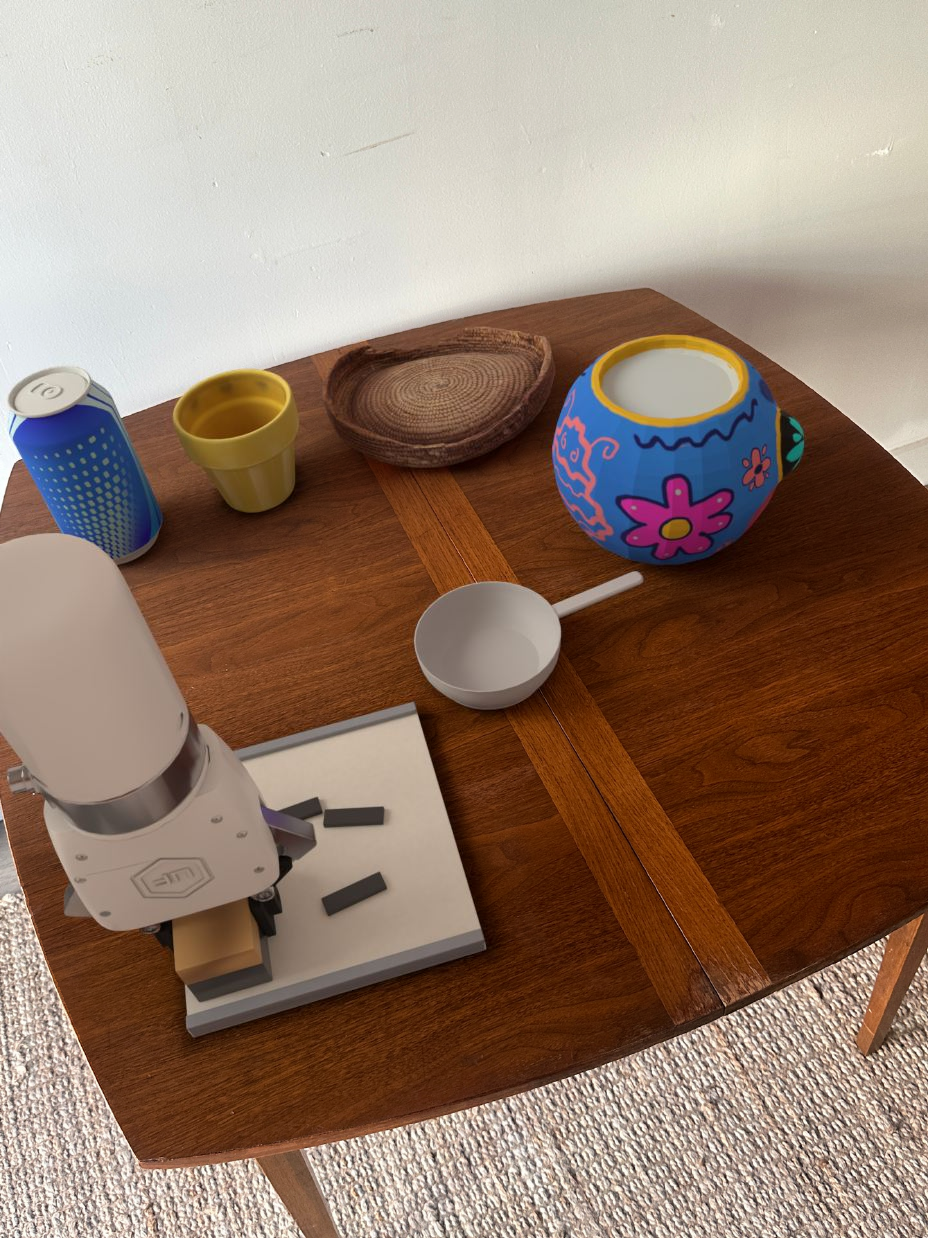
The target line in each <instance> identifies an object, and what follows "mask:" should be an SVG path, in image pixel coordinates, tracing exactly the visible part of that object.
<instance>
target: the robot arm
mask: <svg viewBox="0 0 928 1238" xmlns="http://www.w3.org/2000/svg"><path fill="white" fill-rule="evenodd" d="M190 709H191V708H190V707H189V705H188V704H187V701H186V700H185V698H184V697H183V694H182V692H181V690H180V688H179V685H178V684H177V682H176V680H175V678H174V676H173V674H172V671H171V670H170V668H169V665H168V663H167V661H166V659H165V657H164V655H163V653H162V651H161V648H160V647H159V645H158V643H157V641H156V640H155V637H154V635H153V633H152V631H151V629H150V627H149V625H148V623H147V621H146V619H145V617H144V615H143V613H142V611H141V609H140V607H139V605H138V603H137V601H136V598H135V597H134V595H133V593H132V591H131V589H130V587H129V585H128V583H127V581H126V579H125V577H124V575H123V574H122V572H121V570H120V568H119V567H118V565H116V564H115V562H114V561H113V560H112V559H111V557H110V556H109V555H108V554H107V553H105V552H104V551H103V550H102V549H101V548H99V547H98V546H96V545H95V544H93V543H91V542H89V541H87V540H85V539H82V538H79V537H76V536H73V535H69V534H62V532H45V533H38V534H37V533H36V534H30V535H25V536H20V537H17V538H14V539H10V540H8V541H6V542H2V543H0V734H1V735H2V737H3V738H4V739H5V741H6V742H7V743H8V745H9V746H10V747H11V749H12V750H13V751H14V753H15V754H16V755H17V757H18V758H19V759H20V761H21V762H22V763H21V764H18V765H15V766H11V767H8V768H7V769H6V780H7V785H8V787H9V789H10V792H11V793H12V794H13V795H19V794H23V793H27V792H28V793H31V794H36V795H38V794H39V795H41V796H42V797H43V798H44V804H43V818H44V822H45V825H46V829H47V832H48V835H49V838H50V840H51V843H52V845H53V848H54V851H55V853H56V855H57V857H58V858H59V861H60V864H61V865H62V868H63V869H64V872H65V874H66V876H67V878H68V880H69V882H68V885H67V886H66V889H65V891H64V892H63V914H64V915H65V916H66V917H72V918H93V919H94V920H95V921H96V922H97V923H98V924H99V925H100V926H101V927H103V928H105V929H106V930H110V931H113V932H114V931H115V932H125V931H132V930H133V931H134V930H136V929H138V931H139V933H140V934H141V935H146V936H147V935H153V936H154V938H155V939H156V940H157V941H158V943H159V944H160V945H161V947H162V948H167V947H168V948H169V950H170V952H172V954H173V955H174V941H173V927H172V919H175V918H178V917H182V916H185V915H189V914H192V913H196V912H199V911H203V910H206V909H210V908H213V907H216V906H220V905H223V904H226V903H230V902H233V901H236V900H240V899H243V898H246V897H248V902H249V908H250V911H251V913H252V915H253V917H254V918H255V920H256V922H257V924H258V926H259V927H260V929H261V931H262V933H263V934H264V936H267V937H271V936H275V935H276V927H275V920H274V915H276V914H280V913H282V904H281V898H280V894H279V891H278V889H277V886H276V885H277V884H278V883H279V881H280V880H281V879H282V878H283V877H284V876H285V875H286V874H287V873H288V872H289V871H290V870H291V869H292V867H293V864H292V863H293V862H294V861H295V860H299V859H301V858H302V857H303V856H304V855H306V854H307V853H308V852H309V851H311V850H312V849H313V848H314V847H315V846H316V845H317V840H316V835H315V829H314V825H313V824H312V823H310V822H307V821H304V820H301V819H298V818H295V817H292V816H289V815H287V814H284V813H281V812H278V811H275V810H272V809H269V808H268V806H267V804H266V802H265V800H264V798H263V796H262V794H261V792H260V790H259V789H258V787H257V785H256V784H255V782H254V780H253V779H252V777H251V776H250V774H249V773H248V771H247V770H246V768H245V767H244V765H243V764H242V763H241V761H240V760H239V759H238V757H237V756H236V755H235V753H234V752H233V751H234V750H232V749H231V747H230V746H229V745H228V744H227V743H226V742H225V741H224V740H223V739H222V738H221V737H220V735H219V734H217V733H216V732H215V731H214V730H213V729H212V728H210V727H209V726H208V724H205V723H204V724H203V723H197V722H196V720H195V718H194V716H193V714H192V712H191V710H190Z"/></svg>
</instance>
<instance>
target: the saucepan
mask: <svg viewBox="0 0 928 1238" xmlns="http://www.w3.org/2000/svg"><path fill="white" fill-rule="evenodd" d="M643 583H644V576H643V575H642V573H641V572H639V571H635V570H634V571H631V572H627V573H625V574H623V575H620V576H618V577H617V578H613V579H611V580H608V581H606V582H604V583H601V584H599V585H597V586H595V587H592V588H590V589H587V590H585V591H582V592H580V593H577V594H575V595H573V596H571V597H568V598H565V599H563V600H561V601H558V602H556V603H554V604H550V602H549V601H548V600H547V599H546V598H544V597H543V596H542V595H541V594H539V593H537V592H536V591H534V590H533V589H531V588H528V587H525V586H523V585H520V584H516V583H513V582H507V581H481V582H474V583H470V584H465V585H463V586H459V587H457V588H455V589H453V590H450V591H448V592H446V593H445V594H443V595H441V596H440V597H438V598H437V599H436V600H435V601H434V602H432V603H431V604H430V605H429V606H428V607H427V609H426V610H425V611H424V612H423V613H422V615H421V616H420V618H419V620H418V622H417V625H416V628H415V631H414V637H413V644H414V651H415V654H416V657H417V661H418V663H419V666H420V668H421V671H422V673H423V674H424V677H426V679H427V681H428V682H429V683H430V684H431V685H432V687H434V688H435V689H436V690H437V691H438V692H440V693H441V694H442V695H444V696H445V697H447V698H448V699H450V700H453V701H454V702H456V703H457V704H460V705H462V706H464V707H467V708H471V709H476V710H484V711H485V710H486V711H488V710H499V709H506V708H508V707H512V706H515V705H516V704H518V703H520V702H522V701H524V700H526V699H527V698H529V697H531V696H532V695H533V694H534V693H535V692H536V691H537V690H538V689H539V688H540V687H541V686H542V685H543V684H544V683H545V682H546V680H547V679H548V678H549V676H550V675H551V674H552V672H553V671H554V669H555V667H556V665H557V663H558V659H559V655H560V651H561V650H560V649H561V646H562V645H561V642H562V641H561V639H562V627H561V623H560V618H561V619H562V618H563V617H565V616H568V615H570V614H573V613H575V612H579V610H583V609H584V608H587V607H589V606H592V605H594V604H597V603H599V602H601V601H604V600H606V599H608V598H611V597H615V596H616V595H619V594H620V593H623V592H626V591H628V590H630V589H633V588H635V587H637V586H640V585H642V584H643Z"/></svg>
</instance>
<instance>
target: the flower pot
mask: <svg viewBox="0 0 928 1238" xmlns="http://www.w3.org/2000/svg"><path fill="white" fill-rule="evenodd" d="M294 396H295V395H294V392H293V390H292V388H291V386H290V384H289V383H288V381H287V380H285V378H283V377H282V376H280V375H279V374H277V373H275V372H272V371H269V370H266V369H265V370H264V369H259V368H238V369H233V370H226V371H223V372H220V373H217V374H214V375H212V376H209V377H207V378H204V379H203V380H201V381H199V382H198V383H196V384H194V385H193V386H191V387H190V388H189V389H187V390H186V391H185V392H184V393H183V394H182V395H181V396H180V398H179V399H178V401H177V402H176V403H175V405H174V409H173V411H172V423H173V427H174V430H175V432H176V434H177V437H178V439H179V442H180V444H181V446H182V448H183V451H184V452H185V454H186V455H187V457H188V458H189V459H190V460H191V461H192V462H194V463H195V464H196V465H198V466H200V467H201V468H202V469H203V470H204V472H205V473H206V475H207V476H208V478H209V479H210V480H211V482H212V483H213V484H214V485H213V486H215V488H216V489H217V490H218V492H219V493H220V495H221V496H222V498H223V499H224V501H225V502H226V504H227V505H229V507H230V508H233V509H234V510H235V511H239V512H242V513H252V514H253V513H261V512H266V511H269V510H271V509H274V508H275V507H278V506H279V505H281V504H282V503H283V502H284V501H286V500H287V499H288V498H289V497H290V496H291V494H293V491H294V489H295V485H296V457H295V454H296V453H295V452H296V451H295V449H296V448H295V439H296V437H297V435H298V432H299V429H300V418H299V413H298V407H297V404H296V400H295V397H294Z"/></svg>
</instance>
